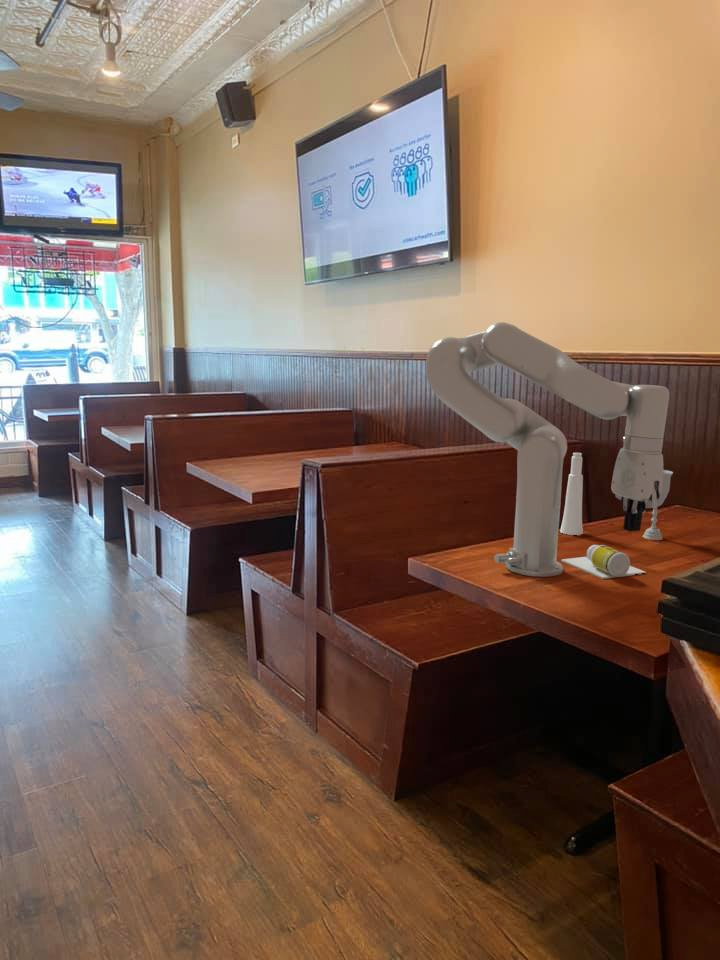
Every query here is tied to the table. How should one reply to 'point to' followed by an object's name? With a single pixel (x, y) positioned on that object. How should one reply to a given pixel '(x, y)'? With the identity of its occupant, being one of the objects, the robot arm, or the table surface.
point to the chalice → (653, 531)
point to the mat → (588, 567)
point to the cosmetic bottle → (573, 499)
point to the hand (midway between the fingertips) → (631, 529)
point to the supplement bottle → (608, 560)
